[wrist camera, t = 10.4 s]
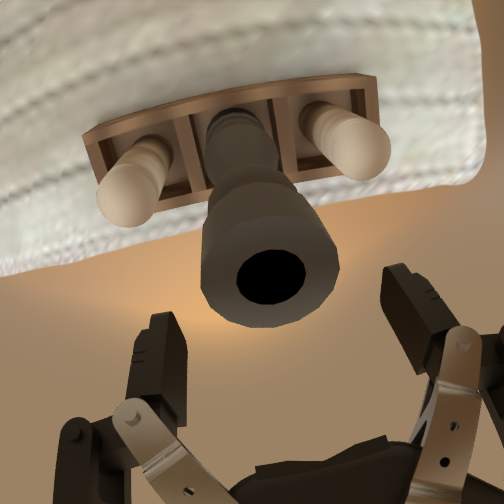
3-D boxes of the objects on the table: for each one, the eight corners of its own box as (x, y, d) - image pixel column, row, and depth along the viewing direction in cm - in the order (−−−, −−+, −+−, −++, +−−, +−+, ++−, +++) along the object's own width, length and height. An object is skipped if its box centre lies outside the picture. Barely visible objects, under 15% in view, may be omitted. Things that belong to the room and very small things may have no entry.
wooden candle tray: (123, 203, 38) (92, 265, 27) (97, 125, 32) (46, 160, 21) (363, 155, 37) (417, 199, 27) (356, 73, 32) (419, 86, 21)
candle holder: (274, 130, 34) (373, 263, 13) (239, 171, 36) (275, 348, 15) (230, 95, 31) (263, 173, 10) (194, 140, 34) (163, 292, 13)
